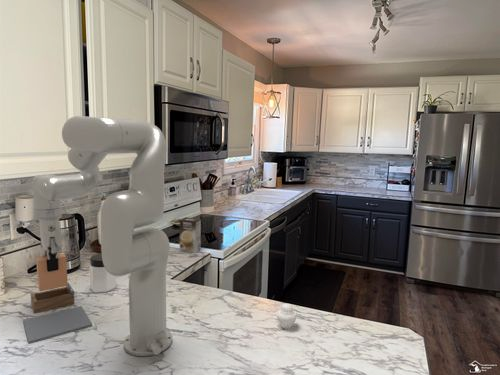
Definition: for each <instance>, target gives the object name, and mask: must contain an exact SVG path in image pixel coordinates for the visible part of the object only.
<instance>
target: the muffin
mask: <svg viewBox="0 0 500 375" xmlns="http://www.w3.org/2000/svg"><path fill="white" fill-rule="evenodd" d="M275 314H276V319H277V321H278V323H279V325H280V327H281V328H283V329H285V330H286V329H290V328H292V326H293V325H294V323H295V322H296V320H297V316H298V315H297V312H296V311H295V310H294V308H293V306H292V305H291V304H290V303H284V304H282V305H281V307H280V308H279V309H278V310H276V313H275Z"/></svg>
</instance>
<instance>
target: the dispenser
mask: <svg viewBox="0 0 500 375" xmlns="http://www.w3.org/2000/svg"><path fill="white" fill-rule="evenodd" d="M30 302H31V303H30V304H31V307H32V311H33V313H34V314H37V313H42V312H45V311H49V310H55V309H59V308H62V307H66V306H70V305H75V291H74V289H73V287H72V286H71V284H70V283H69V282H68V286H64V287H59V288H55V289H50V290H45V291H39V292H35V293H31V294H30Z"/></svg>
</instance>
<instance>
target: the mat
mask: <svg viewBox="0 0 500 375" xmlns="http://www.w3.org/2000/svg"><path fill="white" fill-rule="evenodd" d="M22 322H23V323H22V324H23V327H24V330H25V334H26V338H27V342H28V344H33V343H36V342H39V341H43V340H47V339H51V338H54V337H58V336H61V335H65V334H68V333H73V332H76V331H79V330H82V329H88V328H90V327H93V323H92V321H91V319H90V318H89V316H88V315H87V313H86V311H85V310H84V308H83V307H82V305H79V306H76V307H71V308H68V309H63V310H60V311H55V312H51V313H47V314H43V315H39V316H35V317H30V318H26V319H23V320H22Z"/></svg>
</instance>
